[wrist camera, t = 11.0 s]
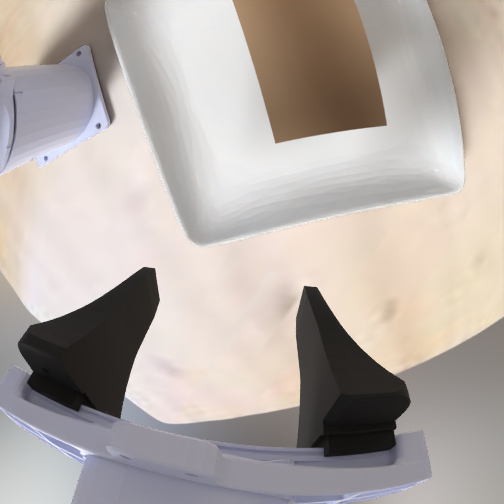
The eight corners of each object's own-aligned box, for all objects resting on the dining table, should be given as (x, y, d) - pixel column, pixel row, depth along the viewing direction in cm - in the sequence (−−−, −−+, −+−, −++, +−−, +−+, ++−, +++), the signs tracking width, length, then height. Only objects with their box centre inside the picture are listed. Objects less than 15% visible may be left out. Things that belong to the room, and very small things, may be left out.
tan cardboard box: (274, 128, 15) (275, 143, 10) (239, 9, 11) (220, -32, 6) (349, 115, 14) (387, 125, 9) (314, -4, 10) (333, -47, 5)
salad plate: (118, 7, 13) (96, -3, 10) (378, -54, 8) (392, -71, 5) (201, 233, 23) (190, 255, 20) (445, 178, 18) (467, 192, 15)
